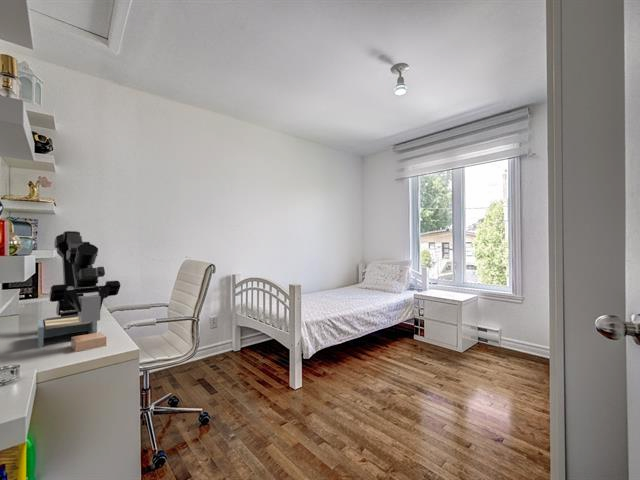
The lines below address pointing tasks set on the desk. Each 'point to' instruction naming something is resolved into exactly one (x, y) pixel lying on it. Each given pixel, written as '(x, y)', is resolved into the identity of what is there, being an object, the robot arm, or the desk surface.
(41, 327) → the trapdoor frame
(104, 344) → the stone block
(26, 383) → the desk surface
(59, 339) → the desk surface
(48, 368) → the desk surface
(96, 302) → the grey upright block
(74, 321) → the trapdoor
